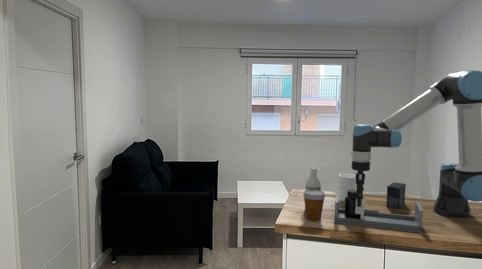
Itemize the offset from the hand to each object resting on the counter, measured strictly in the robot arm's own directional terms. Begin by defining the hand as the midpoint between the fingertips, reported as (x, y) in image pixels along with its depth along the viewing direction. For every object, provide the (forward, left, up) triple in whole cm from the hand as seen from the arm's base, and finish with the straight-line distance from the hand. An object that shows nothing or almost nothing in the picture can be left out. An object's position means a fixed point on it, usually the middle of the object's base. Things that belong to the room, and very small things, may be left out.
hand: (358, 208), depth 162 cm
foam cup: (+6, -29, -5) cm, 30 cm away
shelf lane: (-7, 0, -5) cm, 9 cm away
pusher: (-4, 0, -4) cm, 6 cm away
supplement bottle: (+2, 0, -4) cm, 5 cm away
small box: (-17, -28, -5) cm, 33 cm away
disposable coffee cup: (+19, +5, -5) cm, 20 cm away
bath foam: (+21, -8, -5) cm, 23 cm away
